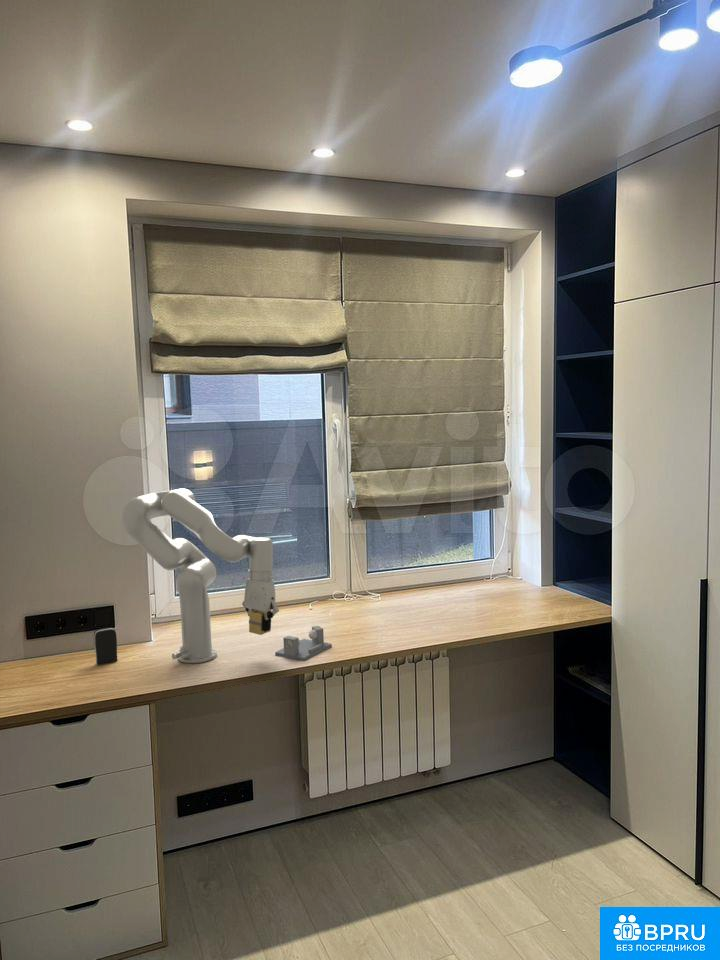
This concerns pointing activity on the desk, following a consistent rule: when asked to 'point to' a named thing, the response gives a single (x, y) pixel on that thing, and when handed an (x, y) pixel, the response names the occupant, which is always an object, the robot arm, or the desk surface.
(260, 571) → the robot arm
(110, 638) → the battery charger
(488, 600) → the desk surface
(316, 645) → the grey mounting bracket
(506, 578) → the desk surface
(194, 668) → the desk surface
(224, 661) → the desk surface
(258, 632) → the yellow rectangular block
